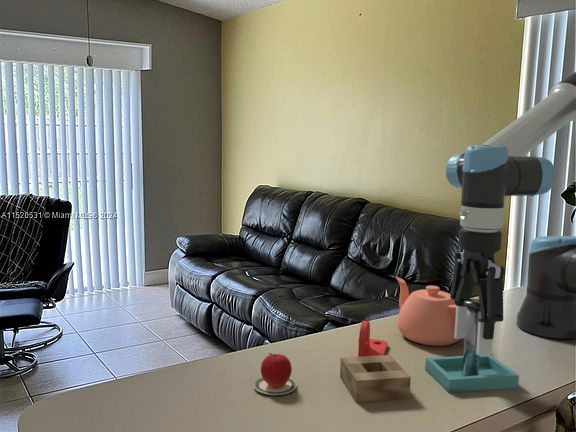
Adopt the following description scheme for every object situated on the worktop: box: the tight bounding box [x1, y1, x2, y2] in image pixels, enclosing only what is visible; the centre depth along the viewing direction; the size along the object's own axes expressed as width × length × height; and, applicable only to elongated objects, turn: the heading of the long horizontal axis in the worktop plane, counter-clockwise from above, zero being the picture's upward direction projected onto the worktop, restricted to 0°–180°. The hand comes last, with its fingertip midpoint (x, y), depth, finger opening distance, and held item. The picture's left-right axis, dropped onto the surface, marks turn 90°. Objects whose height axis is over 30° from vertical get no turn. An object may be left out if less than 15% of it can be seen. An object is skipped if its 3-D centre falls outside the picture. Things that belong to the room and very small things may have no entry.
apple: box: [253, 352, 298, 396], centre depth 99 cm, size 8×8×6 cm
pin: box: [462, 298, 482, 376], centre depth 103 cm, size 4×4×15 cm
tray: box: [424, 355, 520, 394], centre depth 104 cm, size 14×10×2 cm
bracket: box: [357, 320, 389, 357], centre depth 115 cm, size 12×4×8 cm, turn 162°
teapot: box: [395, 276, 461, 347], centre depth 126 cm, size 22×15×12 cm
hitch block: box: [339, 354, 412, 403], centre depth 100 cm, size 10×10×4 cm
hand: (472, 345), depth 104 cm, fingers open, 8 cm apart
